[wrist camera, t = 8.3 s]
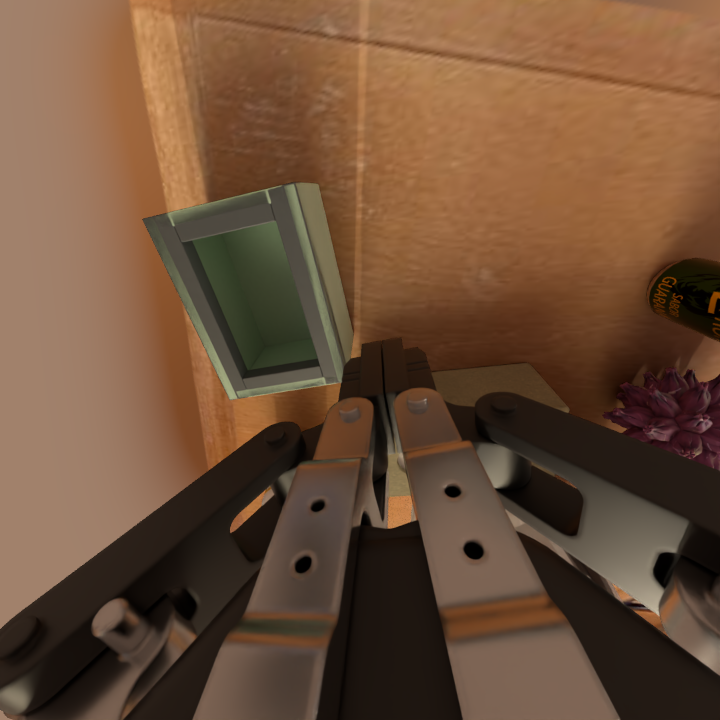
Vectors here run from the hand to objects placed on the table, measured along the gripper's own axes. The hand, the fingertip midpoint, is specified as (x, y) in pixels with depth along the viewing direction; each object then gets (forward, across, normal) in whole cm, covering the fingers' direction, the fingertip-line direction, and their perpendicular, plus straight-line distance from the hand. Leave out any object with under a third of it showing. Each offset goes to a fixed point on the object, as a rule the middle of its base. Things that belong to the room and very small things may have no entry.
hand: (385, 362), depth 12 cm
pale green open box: (+15, +4, 0) cm, 15 cm away
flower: (+19, -25, +20) cm, 38 cm away
